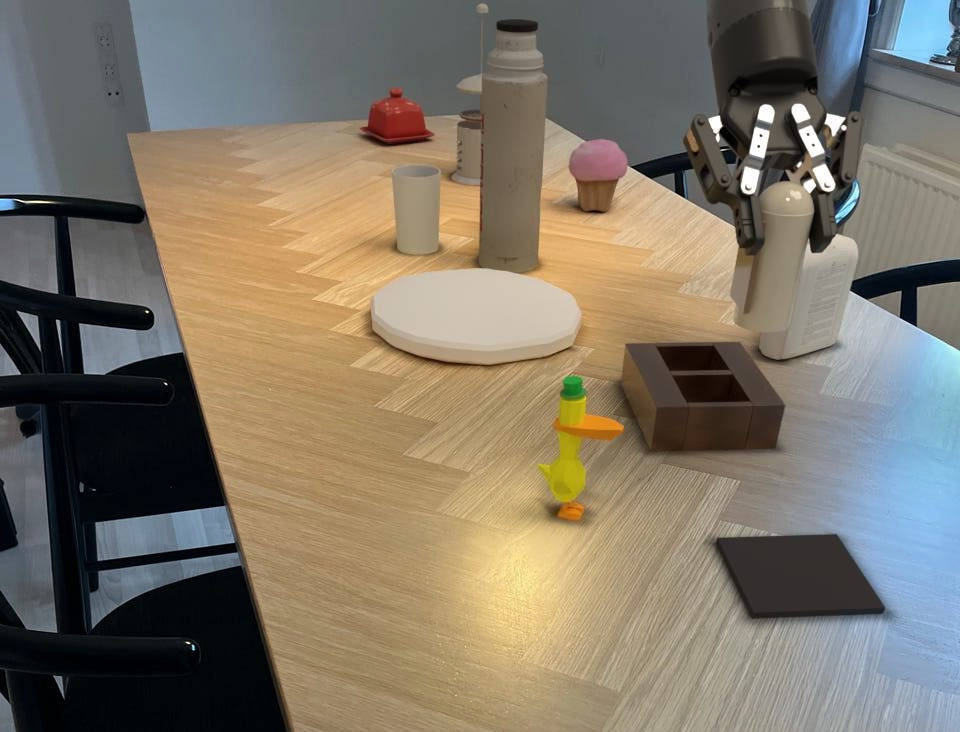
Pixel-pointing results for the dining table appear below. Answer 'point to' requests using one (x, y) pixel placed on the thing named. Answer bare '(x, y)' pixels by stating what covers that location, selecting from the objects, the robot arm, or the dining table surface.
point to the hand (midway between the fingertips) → (789, 248)
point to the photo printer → (816, 302)
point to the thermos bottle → (512, 149)
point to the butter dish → (396, 120)
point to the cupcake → (597, 172)
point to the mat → (798, 576)
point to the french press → (470, 127)
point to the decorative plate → (475, 316)
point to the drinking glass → (417, 208)
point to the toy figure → (574, 446)
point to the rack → (700, 397)
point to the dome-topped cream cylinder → (774, 260)
